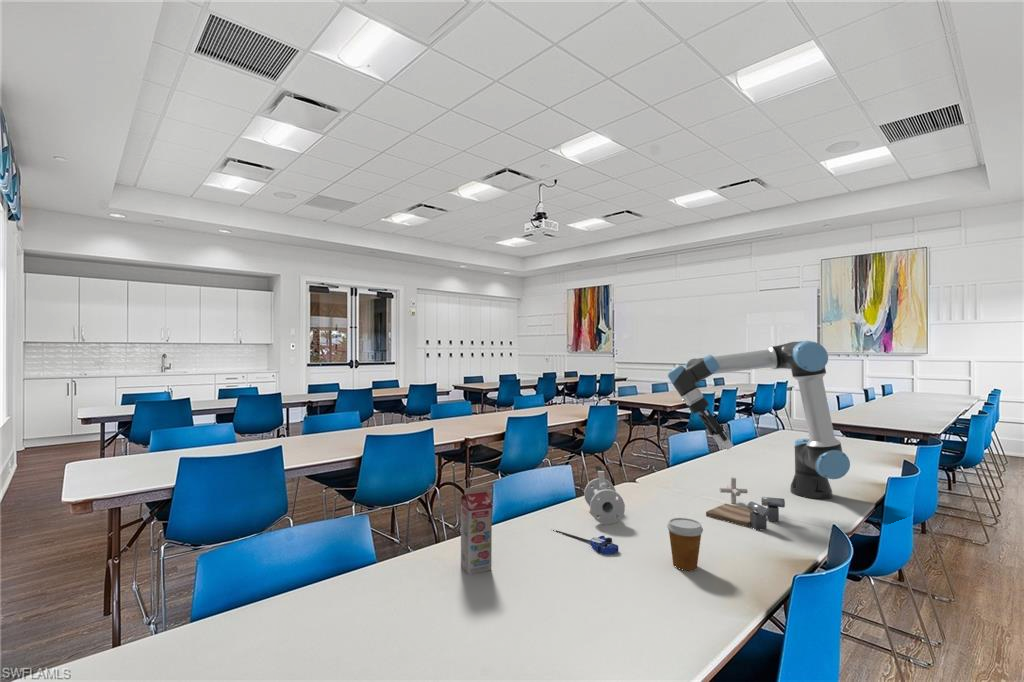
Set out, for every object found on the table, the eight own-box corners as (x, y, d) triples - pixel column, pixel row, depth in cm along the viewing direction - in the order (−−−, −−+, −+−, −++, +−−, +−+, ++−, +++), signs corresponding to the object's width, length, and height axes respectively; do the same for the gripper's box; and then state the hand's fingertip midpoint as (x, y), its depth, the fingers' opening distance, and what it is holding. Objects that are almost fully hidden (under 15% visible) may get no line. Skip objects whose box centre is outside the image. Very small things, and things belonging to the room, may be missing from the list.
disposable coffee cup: (685, 576, 132) (685, 531, 132) (659, 562, 140) (659, 520, 140) (710, 569, 136) (710, 525, 136) (684, 556, 145) (684, 515, 145)
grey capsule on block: (762, 521, 175) (762, 498, 175) (761, 517, 179) (761, 495, 179) (785, 523, 173) (785, 500, 173) (783, 519, 176) (782, 497, 177)
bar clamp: (628, 540, 151) (609, 549, 144) (628, 548, 151) (609, 557, 144) (549, 518, 175) (529, 525, 168) (549, 525, 174) (529, 532, 168)
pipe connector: (742, 499, 200) (742, 475, 200) (751, 507, 190) (751, 481, 190) (716, 499, 201) (716, 474, 201) (724, 506, 191) (724, 480, 191)
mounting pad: (725, 507, 190) (725, 503, 190) (766, 517, 179) (766, 513, 179) (706, 515, 180) (705, 511, 180) (747, 527, 169) (747, 522, 169)
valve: (625, 525, 171) (624, 481, 171) (590, 524, 171) (590, 481, 171) (612, 505, 193) (612, 466, 193) (582, 504, 193) (582, 466, 193)
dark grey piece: (746, 525, 171) (746, 501, 171) (756, 524, 172) (756, 501, 172) (760, 532, 164) (759, 508, 164) (770, 531, 165) (770, 507, 165)
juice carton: (460, 564, 139) (461, 485, 139) (483, 560, 141) (483, 483, 142) (468, 574, 133) (468, 491, 133) (491, 570, 135) (491, 489, 136)
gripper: (684, 408, 213) (714, 452, 207) (690, 403, 189) (724, 453, 183) (700, 399, 212) (730, 443, 206) (708, 393, 189) (742, 443, 182)
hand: (727, 448), depth 194 cm, fingers open, 13 cm apart
